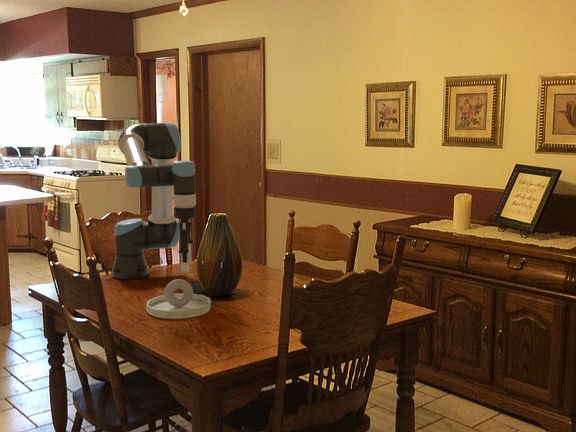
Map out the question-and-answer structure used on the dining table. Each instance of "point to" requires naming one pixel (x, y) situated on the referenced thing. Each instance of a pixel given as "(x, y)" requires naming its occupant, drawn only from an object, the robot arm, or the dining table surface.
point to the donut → (181, 300)
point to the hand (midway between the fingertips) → (186, 266)
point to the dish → (165, 310)
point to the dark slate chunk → (201, 289)
